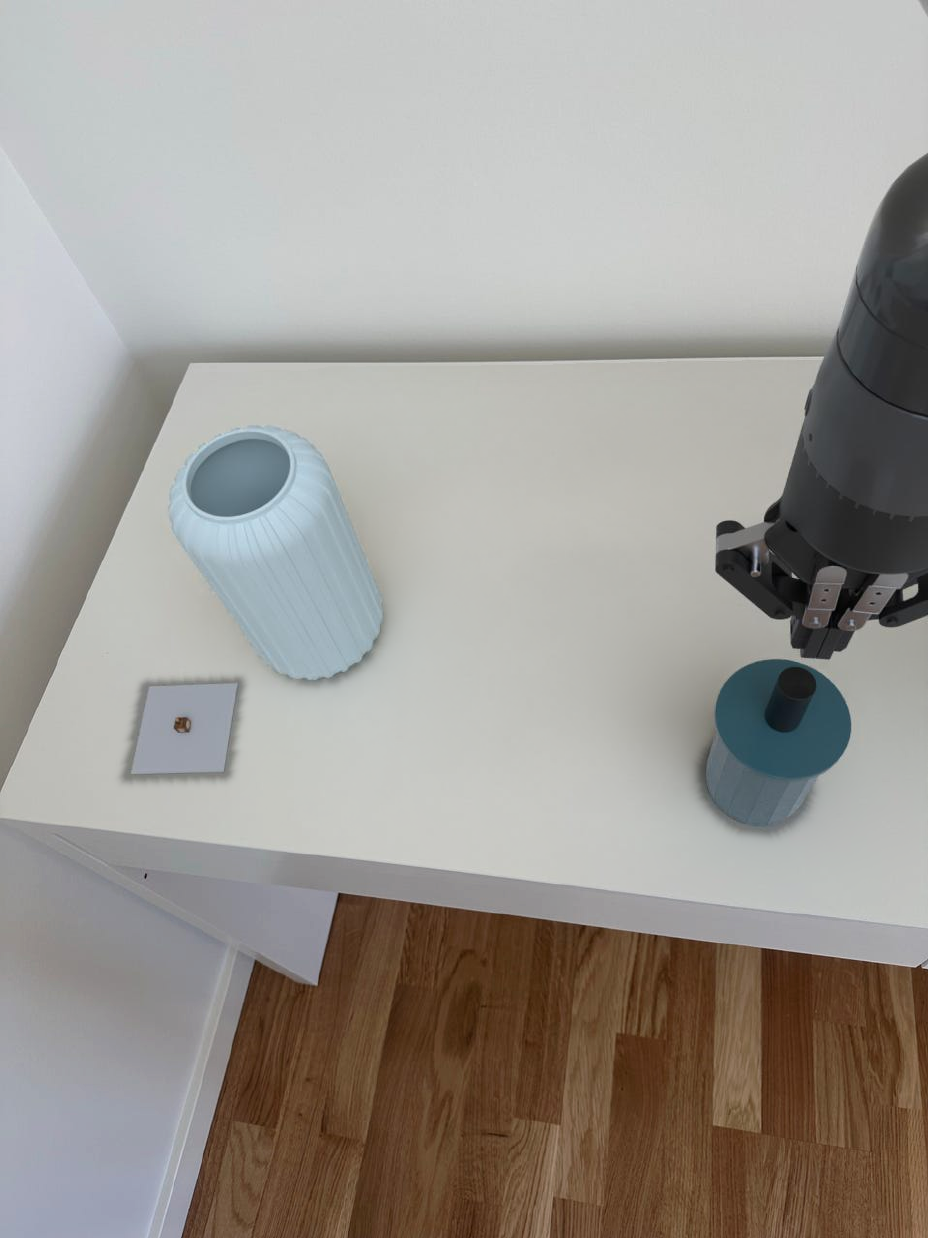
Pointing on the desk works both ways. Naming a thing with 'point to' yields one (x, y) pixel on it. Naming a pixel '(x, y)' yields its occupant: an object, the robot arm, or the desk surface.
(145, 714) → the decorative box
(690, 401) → the desk surface
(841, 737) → the lid
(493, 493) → the desk surface
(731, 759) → the pot
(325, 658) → the vase
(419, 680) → the desk surface
